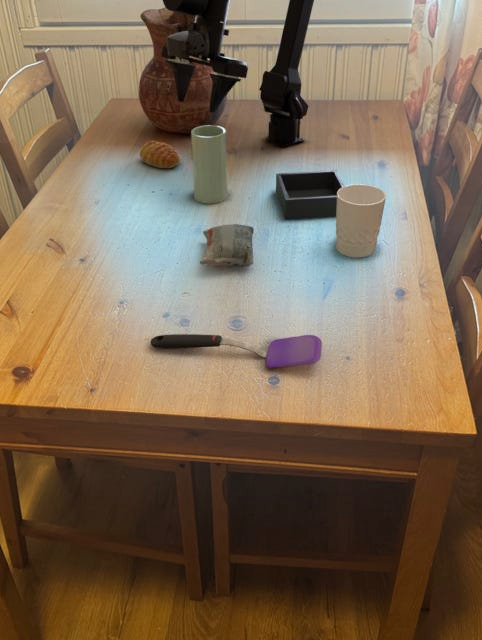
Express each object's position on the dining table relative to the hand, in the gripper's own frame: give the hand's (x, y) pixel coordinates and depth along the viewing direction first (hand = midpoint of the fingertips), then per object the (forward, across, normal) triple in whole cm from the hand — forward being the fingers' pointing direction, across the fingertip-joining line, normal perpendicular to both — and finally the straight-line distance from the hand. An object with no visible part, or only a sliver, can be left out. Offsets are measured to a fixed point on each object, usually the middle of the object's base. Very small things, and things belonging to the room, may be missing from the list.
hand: (195, 106), depth 135 cm
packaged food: (+20, +29, -14) cm, 38 cm away
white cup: (+14, +42, +2) cm, 45 cm away
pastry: (+14, -11, +4) cm, 18 cm away
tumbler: (+15, +9, -1) cm, 18 cm away
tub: (+12, +26, +10) cm, 30 cm away
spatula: (+25, +48, -31) cm, 63 cm away
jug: (+8, -25, +22) cm, 34 cm away
